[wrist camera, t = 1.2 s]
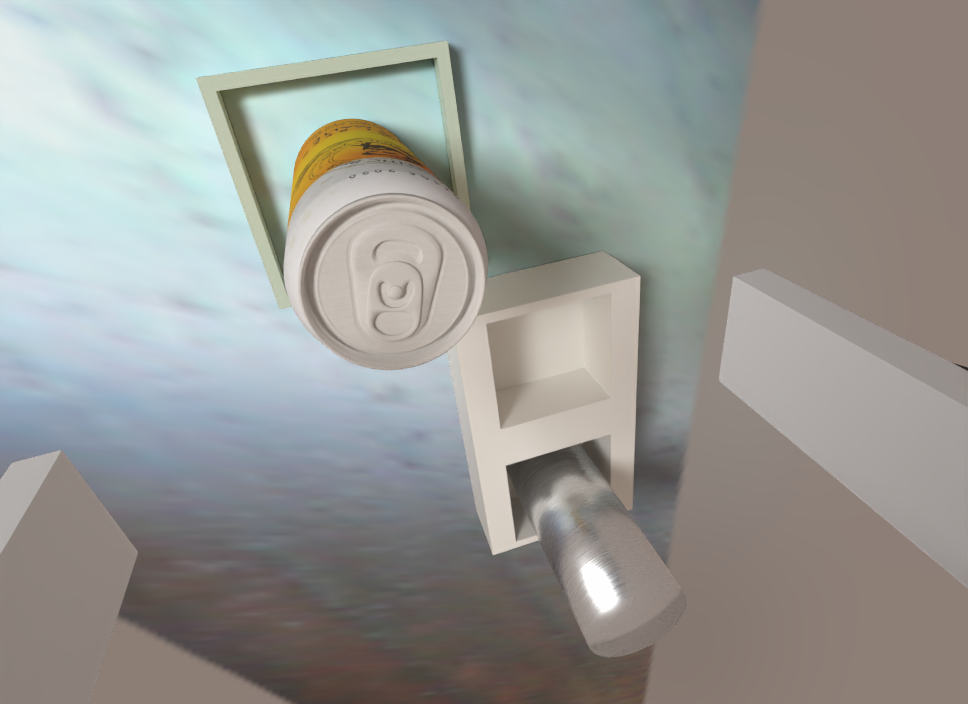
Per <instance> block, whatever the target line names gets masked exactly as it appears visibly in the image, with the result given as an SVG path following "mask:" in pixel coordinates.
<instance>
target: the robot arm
mask: <svg viewBox="0 0 968 704" xmlns="http://www.w3.org/2000/svg"><path fill="white" fill-rule="evenodd" d="M719 381H720V382H721V383H722V384H723V385H725V386H726V387H727V388H728V389H729V390H731V391H732V392H733V393H734V394H735V395H736V396H738V397H739V398H740V399H741V400H742V401H744V402H745V403H746V404H747V405H749V406H750V407H751V408H752V409H753V410H755V411H756V412H757V413H758V414H759V415H761V416H762V417H763V418H764V419H765V420H766V421H768V422H769V423H770V424H771V425H772V426H774V427H775V428H776V429H778V430H779V431H780V432H781V433H782V434H783V435H785V436H786V437H787V438H788V439H789V440H791V441H792V442H793V443H794V444H795V445H797V446H798V447H799V448H800V449H801V450H802V451H804V452H805V453H806V454H807V455H808V456H810V457H811V458H812V459H813V460H814V461H816V462H817V463H818V464H819V465H820V466H822V467H823V468H824V469H825V470H826V471H828V472H829V473H830V474H831V475H832V476H834V477H835V478H836V479H837V480H838V481H840V482H841V483H842V484H843V485H845V486H846V487H847V488H848V489H849V490H850V491H852V492H853V493H854V494H855V495H857V496H858V497H859V498H860V499H861V500H862V501H864V502H865V503H866V504H867V505H869V506H870V507H871V508H872V509H873V510H874V511H876V512H877V513H878V514H879V515H881V516H882V517H883V518H884V519H885V520H887V521H888V522H889V523H890V524H891V525H892V526H894V527H895V528H896V529H897V530H899V531H900V532H901V533H902V534H903V535H905V536H906V537H907V538H908V539H909V540H911V541H912V542H913V543H914V544H915V545H916V546H918V547H919V548H920V549H921V550H922V551H924V552H925V553H926V554H927V555H928V556H930V557H931V558H932V559H933V560H934V561H936V562H937V563H938V564H939V565H940V566H942V567H943V568H945V570H946V571H948V572H949V573H950V574H951V575H953V576H954V577H955V578H956V579H957V580H958V581H960V582H961V583H962V584H963V585H964V586H966V587H967V588H968V368H967V367H964V366H961V365H957V364H954V363H951V362H949V361H947V360H945V359H943V358H941V357H939V356H937V355H935V354H933V353H931V352H929V351H927V350H925V349H923V348H921V347H919V346H917V345H915V344H913V343H911V342H909V341H907V340H905V339H904V338H902V337H900V336H898V335H896V334H894V333H892V332H890V331H888V330H886V329H884V328H882V327H880V326H878V325H876V324H874V323H872V322H870V321H868V320H866V319H864V318H862V317H860V316H858V315H856V314H854V313H852V312H850V311H848V310H846V309H844V308H842V307H840V306H838V305H836V304H834V303H832V302H830V301H828V300H826V299H824V298H822V297H820V296H818V295H816V294H814V293H812V292H811V291H809V290H807V289H805V288H803V287H800V286H799V285H797V284H795V283H793V282H791V281H789V280H787V279H785V278H783V277H781V276H779V275H777V274H775V273H773V272H771V271H769V270H767V269H765V268H763V269H759V270H755V271H752V272H748V273H744V274H740V275H737V276H734V277H733V283H732V290H731V297H730V304H729V311H728V318H727V325H726V332H725V339H724V346H723V353H722V360H721V367H720V374H719ZM137 554H138V552H137V550H136V549H135V547H134V546H133V545H132V543H131V542H130V541H129V539H128V538H127V537H126V535H125V534H124V533H123V531H122V530H121V529H120V527H119V526H118V525H117V523H116V522H115V521H114V519H113V518H112V517H111V515H110V514H109V513H108V511H107V510H106V509H105V507H104V506H103V505H102V503H101V502H100V501H99V499H98V498H97V497H96V495H95V494H94V493H93V491H92V490H91V489H90V487H89V486H88V485H87V483H86V482H85V481H84V479H83V478H82V477H81V475H80V474H79V472H78V471H77V470H76V468H75V467H74V466H73V464H72V463H71V462H70V460H69V459H68V458H67V456H66V455H65V454H64V452H63V451H62V450H60V451H56V452H52V453H48V454H44V455H41V456H37V457H33V458H29V459H25V460H21V461H17V462H13V463H12V464H11V465H10V467H9V468H8V469H7V471H6V472H5V474H4V475H3V477H2V478H1V480H0V704H89V702H90V699H91V696H92V693H93V690H94V687H95V684H96V681H97V678H98V674H99V672H100V668H101V665H102V662H103V659H104V656H105V653H106V650H107V647H108V644H109V641H110V637H111V634H112V631H113V628H114V625H115V622H116V619H117V616H118V613H119V610H120V607H121V604H122V600H123V597H124V594H125V591H126V588H127V585H128V582H129V579H130V576H131V573H132V569H133V566H134V563H135V560H136V557H137Z"/></svg>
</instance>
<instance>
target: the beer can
mask: <svg viewBox="0 0 968 704" xmlns="http://www.w3.org/2000/svg"><path fill="white" fill-rule="evenodd" d="M487 275H488V256H487V249H486V244H485V240H484V237H483V234H482V231H481V229H480V227H479V225H478V223H477V221H476V219H475V218H474V216H473V215H472V213H471V212H470V210H469V209H468V208H467V207H466V205H465V204H464V203H463V202H462V201H461V200H460V199H459V198H458V197H457V196H456V195H455V194H454V193H453V192H452V191H451V190H450V189H449V188H448V187H447V186H446V185H445V184H444V183H443V182H442V181H441V180H440V179H439V178H438V177H437V176H436V175H435V174H434V173H433V172H432V171H431V170H430V169H429V168H427V167H426V166H425V165H424V164H423V163H422V162H421V161H420V160H419V159H418V158H417V157H416V156H415V155H414V154H413V153H412V152H411V151H410V150H409V149H408V148H407V147H406V146H405V145H404V144H403V143H402V142H401V141H400V140H399V139H398V138H397V137H396V136H395V135H394V134H392V133H391V132H390V131H389V130H387V129H385V128H384V127H382V126H380V125H378V124H376V123H373V122H370V121H366V120H361V119H343V120H338V121H334V122H331V123H329V124H326V125H324V126H322V127H321V128H319V129H318V130H316V131H315V132H314V133H313V134H312V135H311V136H310V137H309V138H308V139H307V140H306V141H305V143H304V144H303V146H302V147H301V149H300V151H299V153H298V156H297V159H296V162H295V167H294V175H293V184H292V193H291V202H290V211H289V220H288V229H287V238H286V247H285V256H284V281H285V287H286V291H287V295H288V298H289V301H290V303H291V305H292V308H293V310H294V312H295V313H296V315H297V317H298V318H299V320H300V321H301V323H302V324H303V325H304V327H305V328H306V329H307V330H308V331H309V332H310V333H311V334H312V335H313V336H314V337H315V338H316V339H317V340H319V341H320V342H321V343H322V344H324V345H325V346H326V347H327V348H328V349H330V350H331V351H332V352H333V353H335V354H337V355H338V356H340V357H341V358H343V359H345V360H347V361H349V362H351V363H354V364H357V365H360V366H364V367H368V368H373V369H380V370H397V369H405V368H411V367H415V366H418V365H421V364H424V363H427V362H429V361H431V360H433V359H435V358H437V357H439V356H441V355H442V354H444V353H446V352H447V351H448V350H450V349H451V348H452V347H453V346H455V345H456V344H457V343H458V342H459V341H460V340H461V339H462V338H463V337H464V336H465V334H466V333H467V332H468V331H469V329H470V328H471V326H472V325H473V323H474V321H475V319H476V317H477V316H478V313H479V311H480V308H481V306H482V302H483V298H484V293H485V286H486V282H487Z"/></svg>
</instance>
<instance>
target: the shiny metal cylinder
mask: <svg viewBox="0 0 968 704" xmlns="http://www.w3.org/2000/svg"><path fill="white" fill-rule="evenodd" d="M506 471H507V473H508V476H509V478H510V480H511V482H512V484H513V486H514V488H515V490H516V493H517V495H518V497H519V499H520V501H521V503H522V505H523V507H524V510H525V512H526V514H527V516H528V518H529V520H530V522H531V524H532V527H533V529H534V531H535V533H536V535H537V537H538V539H539V542H540V544H541V546H542V548H543V550H544V552H545V554H546V556H547V559H548V561H549V563H550V565H551V567H552V569H553V571H554V573H555V576H556V578H557V580H558V582H559V584H560V586H561V588H562V590H563V593H564V595H565V597H566V599H567V601H568V603H569V605H570V607H571V610H572V612H573V614H574V616H575V618H576V620H577V622H578V624H579V627H580V629H581V631H582V633H583V635H584V637H585V639H586V641H587V644H588V646H589V648H590V649H591V650H592V651H593V652H594V653H595V654H597V655H600V656H605V657H618V656H624V655H628V654H631V653H634V652H637V651H639V650H642V649H644V648H646V647H648V646H650V645H651V644H653V643H655V642H656V641H658V640H659V639H660V638H662V637H663V636H664V635H666V634H667V633H668V632H669V631H670V630H671V629H672V628H673V627H674V626H675V625H676V623H677V622H678V621H679V619H680V618H681V616H682V614H683V612H684V610H685V607H686V596H685V594H684V592H683V590H682V589H681V587H680V586H679V584H678V583H677V582H676V580H675V579H674V577H673V576H672V574H671V573H670V571H669V570H668V569H667V567H666V566H665V564H664V563H663V561H662V560H661V558H660V557H659V556H658V554H657V553H656V551H655V550H654V548H653V547H652V545H651V544H650V543H649V541H648V540H647V538H646V537H645V535H644V534H643V532H642V531H641V530H640V528H639V527H638V525H637V524H636V522H635V521H634V519H633V518H632V517H631V515H630V514H629V512H628V511H627V509H626V508H625V506H624V505H623V504H622V502H621V501H620V499H619V498H618V496H617V495H616V493H615V492H614V491H613V489H612V488H611V486H610V485H609V483H608V482H607V480H606V479H605V478H604V476H603V475H602V473H601V472H600V470H599V469H598V467H597V466H596V465H595V463H594V462H593V460H592V459H591V457H590V456H589V454H588V453H587V452H586V450H585V449H584V447H583V446H582V444H581V443H580V444H576V445H573V446H570V447H566V448H563V449H560V450H556V451H553V452H550V453H546V454H543V455H540V456H536V457H533V458H530V459H526V460H523V461H520V462H516V463H513V464H510V465H506Z"/></svg>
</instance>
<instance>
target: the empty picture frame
mask: <svg viewBox="0 0 968 704" xmlns="http://www.w3.org/2000/svg"><path fill="white" fill-rule="evenodd" d="M430 58H433V59H434V66H435V73H436V79H437V86H438V92H439V99H440V106H441V112H442V119H443V125H444V132H445V139H446V145H447V152H448V158H449V165H450V172H451V178H452V185H453V192H454V194H455V195H456V196H457V197H458V198H459V199H460V200H461V201H462V202H463V203H464V204H465V205H466V207H467V208H468V209H469V210H470V212H471V208H470V200H469V193H468V186H467V179H466V171H465V164H464V157H463V149H462V142H461V135H460V127H459V120H458V113H457V105H456V98H455V91H454V84H453V76H452V69H451V62H450V54H449V47H448V41H441V42H434V43H427V44H421V45H414V46H407V47H400V48H394V49H387V50H380V51H373V52H366V53H360V54H353V55H346V56H339V57H333V58H326V59H319V60H312V61H306V62H299V63H292V64H285V65H279V66H272V67H265V68H258V69H251V70H245V71H238V72H231V73H224V74H218V75H211V76H204V77H198V78H196V80H197V82H198V85H199V88H200V91H201V93H202V96H203V99H204V102H205V104H206V107H207V110H208V113H209V115H210V118H211V121H212V124H213V126H214V129H215V132H216V135H217V138H218V140H219V143H220V146H221V149H222V151H223V154H224V157H225V160H226V162H227V165H228V168H229V171H230V173H231V176H232V179H233V182H234V184H235V187H236V190H237V193H238V195H239V198H240V201H241V204H242V206H243V209H244V212H245V215H246V217H247V220H248V223H249V226H250V228H251V231H252V234H253V237H254V239H255V242H256V245H257V248H258V250H259V253H260V256H261V259H262V261H263V264H264V267H265V270H266V273H267V275H268V278H269V281H270V284H271V286H272V289H273V292H274V295H275V297H276V300H277V303H278V306H279V308H280V309H284V308H288V307H292V305H291V303H290V301H289V298H288V295H287V291H286V287H285V281H284V276H283V273H282V270H281V267H280V264H279V262H278V259H277V256H276V253H275V250H274V247H273V244H272V241H271V238H270V236H269V233H268V230H267V227H266V224H265V221H264V218H263V215H262V212H261V210H260V207H259V204H258V201H257V198H256V195H255V192H254V189H253V186H252V184H251V181H250V178H249V175H248V172H247V169H246V166H245V163H244V160H243V158H242V155H241V152H240V149H239V146H238V143H237V140H236V137H235V134H234V132H233V129H232V126H231V123H230V120H229V117H228V114H227V111H226V108H225V106H224V103H223V100H222V97H221V94H220V91H221V90H228V89H234V88H241V87H247V86H254V85H260V84H267V83H273V82H280V81H286V80H293V79H299V78H306V77H312V76H319V75H325V74H332V73H339V72H345V71H352V70H358V69H365V68H371V67H378V66H384V65H391V64H397V63H404V62H410V61H417V60H423V59H430Z"/></svg>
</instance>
